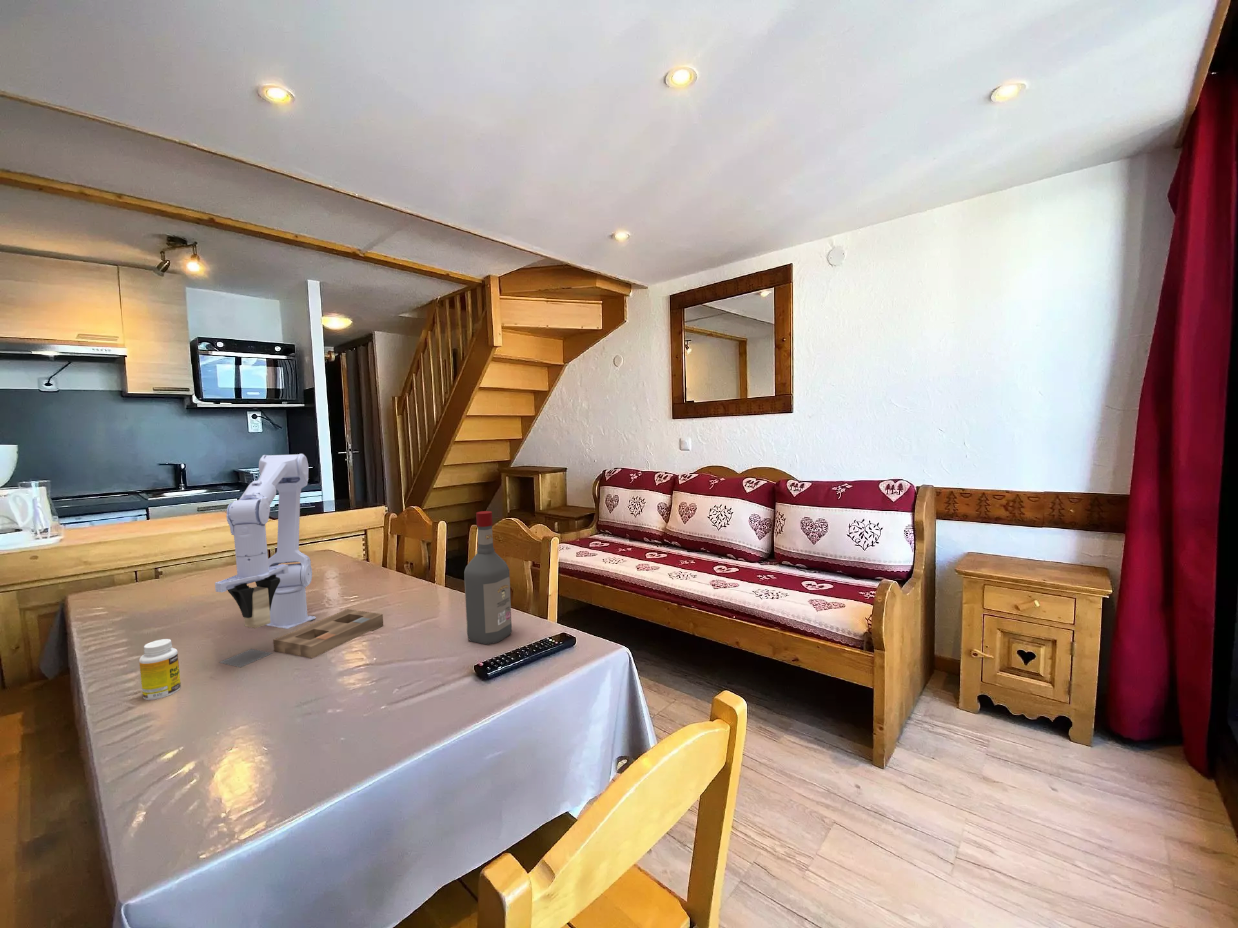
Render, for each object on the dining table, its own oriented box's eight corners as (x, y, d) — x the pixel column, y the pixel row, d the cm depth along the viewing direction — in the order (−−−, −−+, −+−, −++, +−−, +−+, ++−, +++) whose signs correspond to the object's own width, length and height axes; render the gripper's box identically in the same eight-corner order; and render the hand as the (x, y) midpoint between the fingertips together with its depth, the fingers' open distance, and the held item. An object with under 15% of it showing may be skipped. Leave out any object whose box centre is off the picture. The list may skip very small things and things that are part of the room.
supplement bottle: (176, 697, 99) (171, 645, 98) (138, 704, 96) (132, 651, 96) (185, 684, 104) (180, 634, 103) (149, 690, 101) (144, 640, 101)
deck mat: (218, 664, 112) (218, 662, 112) (251, 650, 119) (251, 648, 119) (240, 668, 110) (240, 667, 110) (272, 654, 116) (272, 653, 116)
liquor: (516, 631, 126) (511, 510, 124) (492, 646, 118) (487, 516, 116) (486, 626, 130) (481, 508, 128) (461, 640, 122) (455, 514, 119)
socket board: (274, 652, 118) (273, 639, 117) (348, 619, 136) (347, 608, 136) (312, 659, 113) (311, 646, 113) (383, 625, 132) (382, 613, 132)
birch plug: (244, 626, 114) (241, 591, 113) (260, 620, 117) (257, 586, 116) (255, 628, 113) (252, 592, 112) (270, 622, 116) (268, 587, 115)
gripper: (228, 563, 105) (234, 628, 107) (295, 547, 119) (300, 604, 120) (206, 561, 108) (212, 624, 109) (274, 544, 121) (279, 601, 123)
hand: (256, 613), depth 115 cm, fingers closed on birch plug, 3 cm apart
